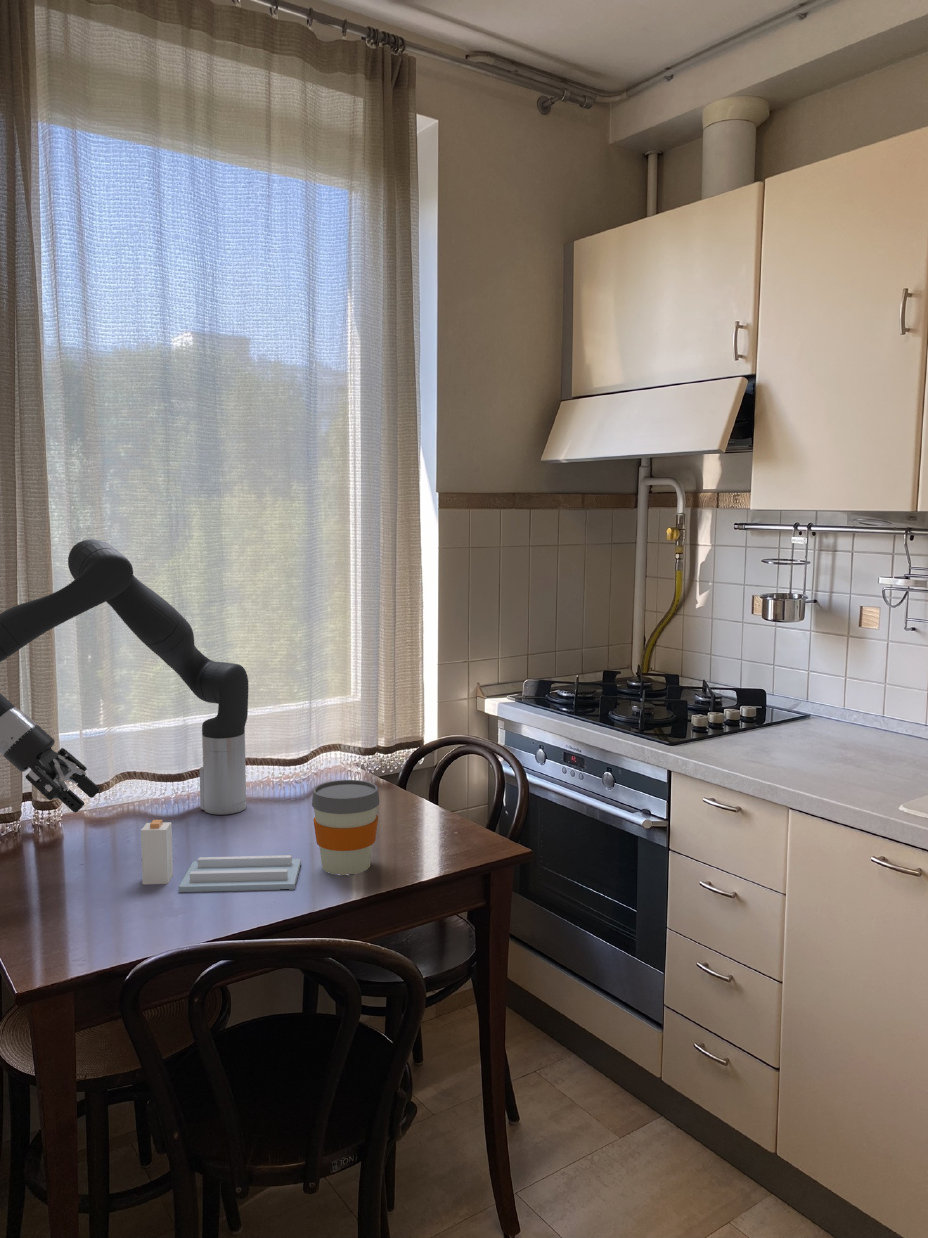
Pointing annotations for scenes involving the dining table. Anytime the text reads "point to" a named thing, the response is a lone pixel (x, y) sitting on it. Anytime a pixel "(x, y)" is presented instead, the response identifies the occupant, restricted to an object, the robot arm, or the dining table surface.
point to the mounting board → (241, 873)
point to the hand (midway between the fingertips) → (88, 801)
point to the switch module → (157, 852)
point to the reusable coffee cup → (345, 824)
